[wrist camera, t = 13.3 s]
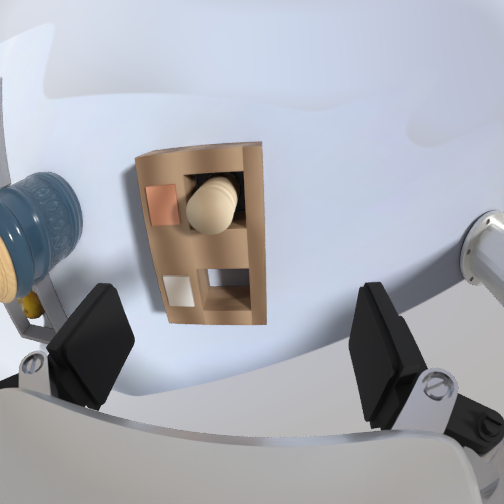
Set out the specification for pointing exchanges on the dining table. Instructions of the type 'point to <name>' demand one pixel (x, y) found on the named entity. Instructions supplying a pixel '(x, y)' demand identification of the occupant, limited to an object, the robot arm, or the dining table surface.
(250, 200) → the socket block
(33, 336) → the fruit corral
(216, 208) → the peg
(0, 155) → the tray
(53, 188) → the canister
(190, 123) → the dining table surface
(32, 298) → the fruit
